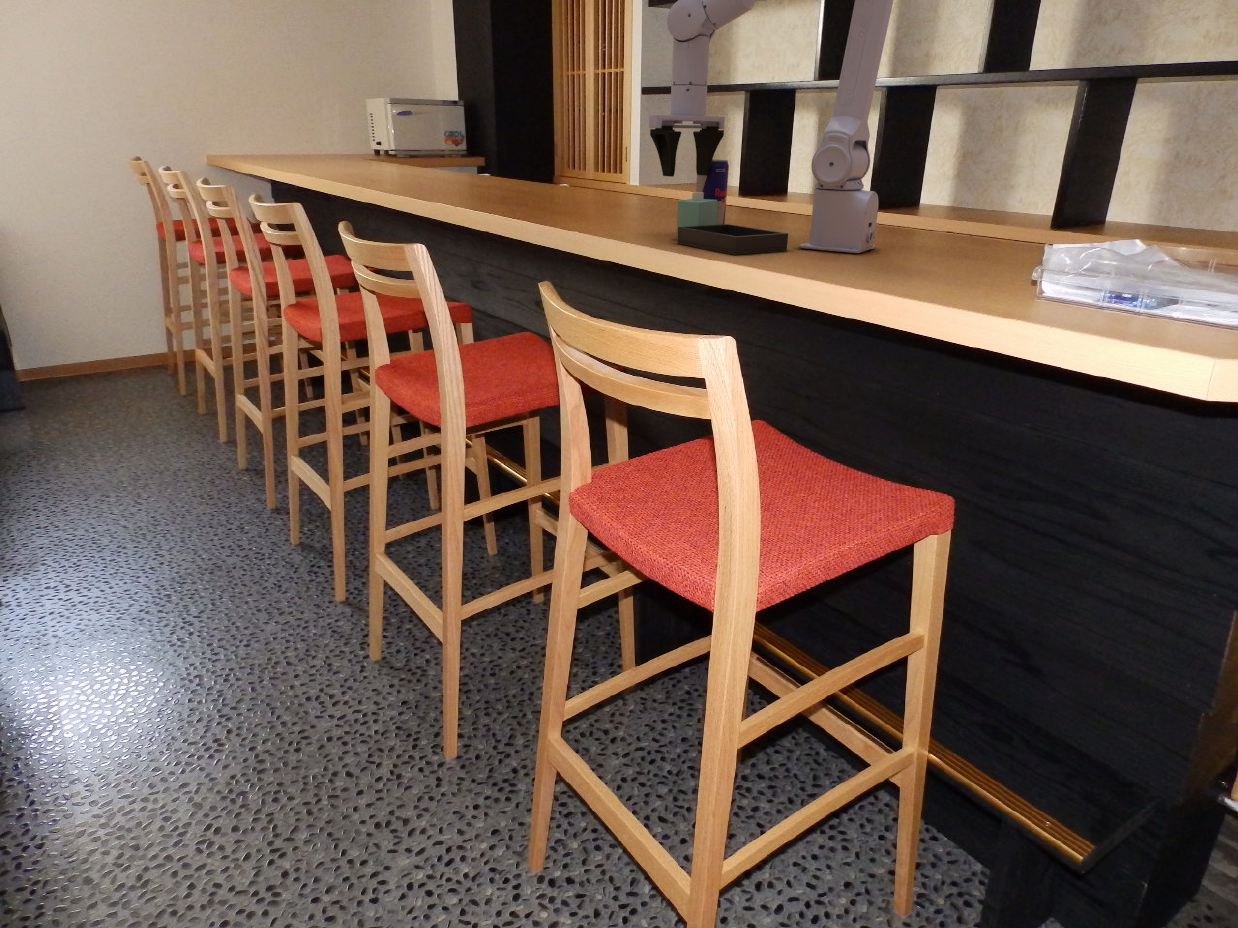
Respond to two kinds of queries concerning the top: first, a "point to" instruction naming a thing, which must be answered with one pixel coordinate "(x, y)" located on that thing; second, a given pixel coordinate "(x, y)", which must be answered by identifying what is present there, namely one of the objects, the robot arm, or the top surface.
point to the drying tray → (732, 239)
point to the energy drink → (715, 186)
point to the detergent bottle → (696, 211)
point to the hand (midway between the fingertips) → (685, 175)
